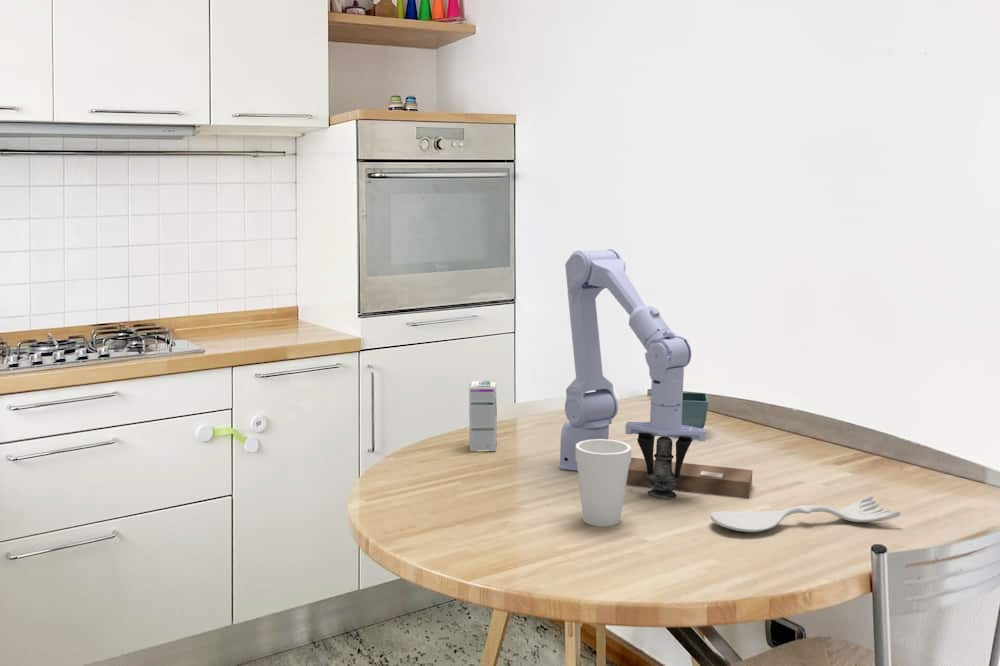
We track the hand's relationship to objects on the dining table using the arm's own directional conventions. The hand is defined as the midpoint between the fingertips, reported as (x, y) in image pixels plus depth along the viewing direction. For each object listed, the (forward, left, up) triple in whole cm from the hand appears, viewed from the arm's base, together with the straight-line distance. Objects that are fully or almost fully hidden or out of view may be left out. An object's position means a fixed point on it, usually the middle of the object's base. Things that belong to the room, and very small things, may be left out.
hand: (663, 474), depth 174 cm
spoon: (+25, -7, -4) cm, 26 cm away
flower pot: (-2, +45, -4) cm, 45 cm away
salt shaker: (0, 0, -4) cm, 4 cm away
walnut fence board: (+3, +8, -4) cm, 9 cm away
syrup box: (-42, +17, -4) cm, 45 cm away
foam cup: (-8, -17, -4) cm, 19 cm away
